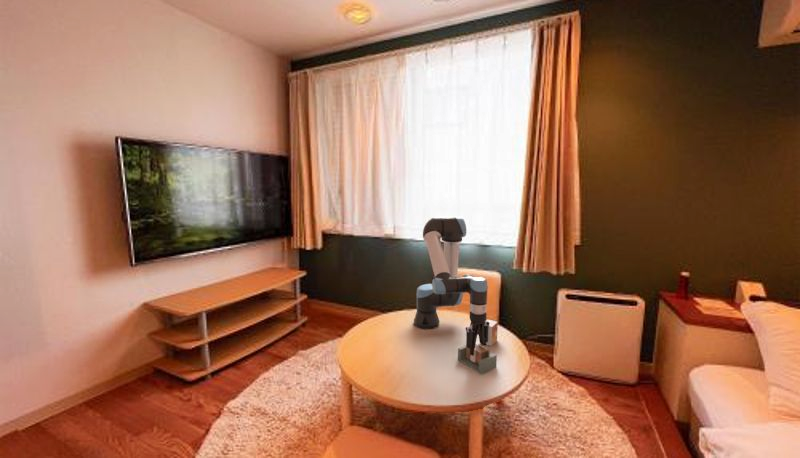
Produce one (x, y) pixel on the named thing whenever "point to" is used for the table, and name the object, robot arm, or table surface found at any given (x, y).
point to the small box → (492, 332)
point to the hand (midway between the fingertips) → (476, 359)
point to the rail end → (478, 353)
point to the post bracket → (483, 364)
